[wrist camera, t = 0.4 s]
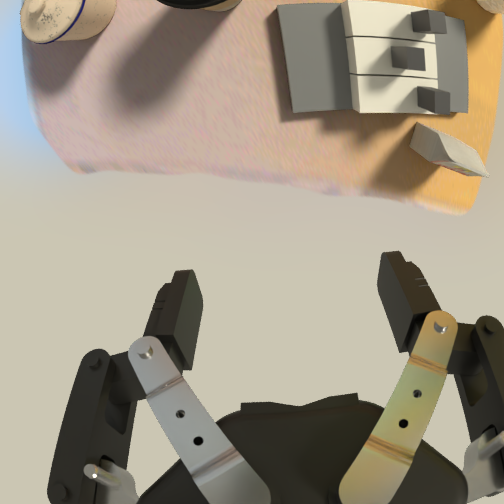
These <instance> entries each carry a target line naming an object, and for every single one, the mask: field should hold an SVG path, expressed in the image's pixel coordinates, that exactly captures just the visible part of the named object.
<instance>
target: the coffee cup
mask: <svg viewBox="0 0 504 504" xmlns="http://www.w3.org/2000/svg"><path fill="white" fill-rule="evenodd" d="M157 1H159V2H161V3H163V4H165V5H168V6H171V7H175V8H180V9H204V10H211V11H216V12H221V11H226V10H229V9H231V8H233V7H235V6H236V5H238V4H239V3H240V2H241V1H242V0H157Z"/></svg>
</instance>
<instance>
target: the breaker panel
mask: <svg viewBox="0 0 504 504" xmlns="http://www.w3.org/2000/svg"><path fill="white" fill-rule="evenodd" d="M277 13H278V19H279V25H280V31H281V37H282V43H283V50H284V56H285V63H286V70H287V77H288V84H289V92H290V100H291V108H292V111H293V113H299V112H311V111H326V110H345V109H354V110H356V111H358V112H359V113H422V114H446V115H450V112H461V113H468V59H467V44H466V33H465V24H464V20H461V19H457V18H453V17H448V16H445V13H444V12H439V11H435V10H431V9H426V8H421V7H415V6H409V5H402V4H395V3H386V2H377V1H364V0H346V1H344V2H343V3H303V4H285V5H277ZM390 46H408V47H417V48H424V52H425V66H426V71H417V70H407V69H401V68H394V67H392V57H391V47H390Z"/></svg>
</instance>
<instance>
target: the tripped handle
mask: <svg viewBox="0 0 504 504" xmlns="http://www.w3.org/2000/svg"><path fill="white" fill-rule="evenodd" d="M390 47H391V57H392V67H394V68H401V69H407V70H417V71H426V66H425V52H424V48H417V47H408V46H390Z"/></svg>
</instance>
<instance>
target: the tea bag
mask: <svg viewBox="0 0 504 504" xmlns="http://www.w3.org/2000/svg"><path fill="white" fill-rule="evenodd" d="M409 147H410V148H412V149H413V150H414V151H416V152H417V153H418V154H420V155H421V156H422V157H424V158H425V159H426V160H427V161H429V162H431V163H434V164H437V165H440V166H442V167H445V168H448V169H450V170H453V171H456V172H458V173H461V174H463V175H466V176H483V177H487V176H486V175H489V173H488V172H487V170H486V169H485V167H484V165H483V163H482V161H481V158H480V156H479V154H478V152H477V151H476V150H475V149H473V148H472V147H470V146H468V145H467V144H465V143H463V142H462V141H460V140H458V139H457V138H455V137H453V136H451V135H448V134H446V133H444V132H441V131H439V130H436V129H434V128H431V127H429V126H426V125H424V124H421V123H418V122H417V123H416V126H415V129H414V133H413V136H412V139H411V143H410V146H409ZM489 176H490V175H489Z"/></svg>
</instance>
